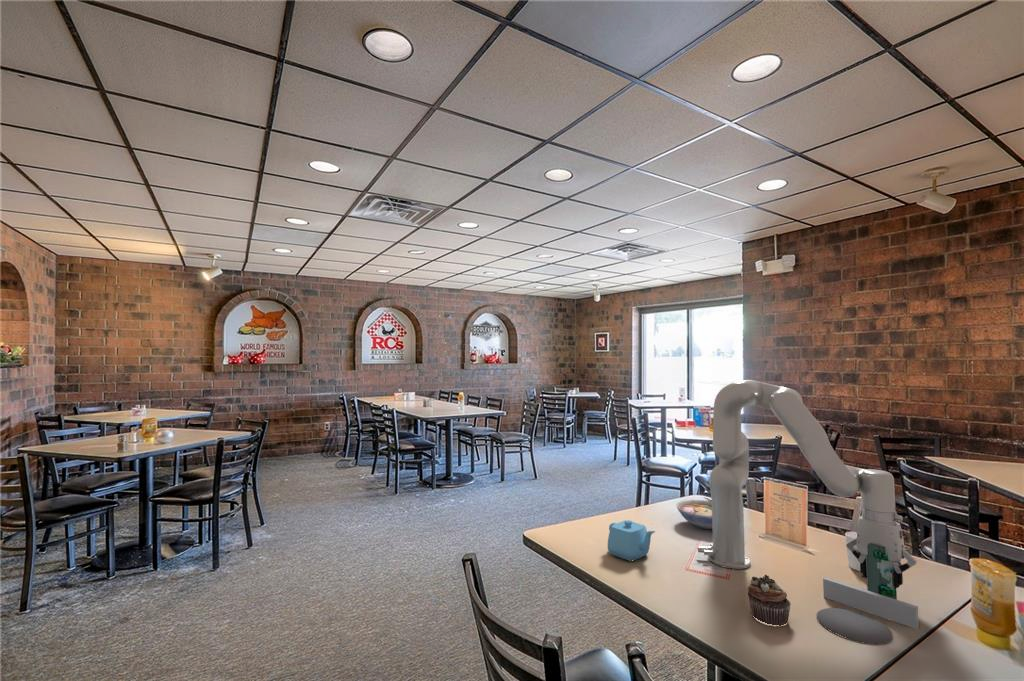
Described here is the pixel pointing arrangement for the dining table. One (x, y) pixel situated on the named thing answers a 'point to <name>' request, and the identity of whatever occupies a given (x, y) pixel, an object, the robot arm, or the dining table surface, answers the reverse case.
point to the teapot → (628, 540)
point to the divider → (871, 602)
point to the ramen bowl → (697, 512)
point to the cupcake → (768, 601)
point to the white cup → (851, 558)
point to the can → (880, 572)
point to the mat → (854, 625)
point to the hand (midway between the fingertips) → (881, 580)
